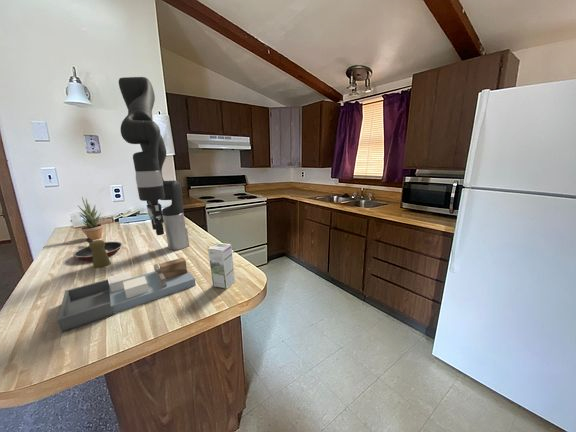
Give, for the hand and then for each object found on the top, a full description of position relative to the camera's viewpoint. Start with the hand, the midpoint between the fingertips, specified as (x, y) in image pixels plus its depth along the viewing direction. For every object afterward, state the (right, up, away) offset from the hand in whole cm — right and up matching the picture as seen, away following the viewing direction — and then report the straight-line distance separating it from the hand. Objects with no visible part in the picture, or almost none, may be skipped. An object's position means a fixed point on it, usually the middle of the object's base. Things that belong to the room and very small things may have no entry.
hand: (158, 231), depth 83 cm
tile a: (-4, -19, -6) cm, 20 cm away
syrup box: (+22, -19, +2) cm, 29 cm away
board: (-2, -20, +1) cm, 20 cm away
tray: (-16, -23, -10) cm, 29 cm away
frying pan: (-50, -12, +36) cm, 63 cm away
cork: (-35, -16, +20) cm, 44 cm away
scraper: (+4, -16, +4) cm, 17 cm away
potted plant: (-67, -8, +56) cm, 87 cm away
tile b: (-11, -18, -2) cm, 21 cm away
